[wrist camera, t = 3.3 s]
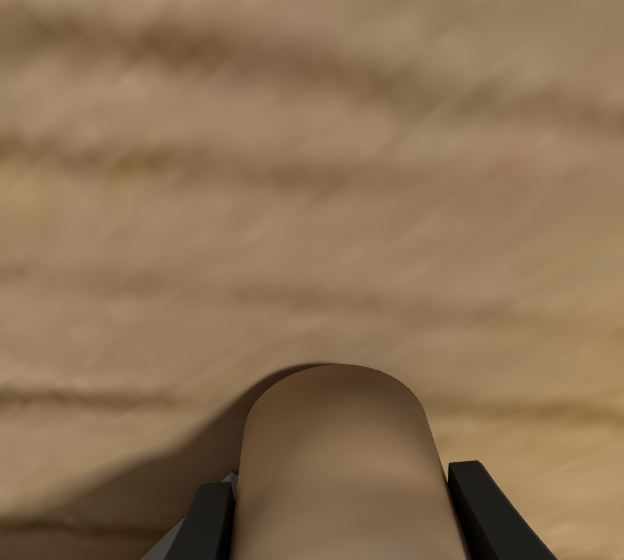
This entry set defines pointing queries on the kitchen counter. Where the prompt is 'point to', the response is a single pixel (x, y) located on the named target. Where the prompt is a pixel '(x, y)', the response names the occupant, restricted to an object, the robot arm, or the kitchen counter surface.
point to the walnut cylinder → (342, 473)
